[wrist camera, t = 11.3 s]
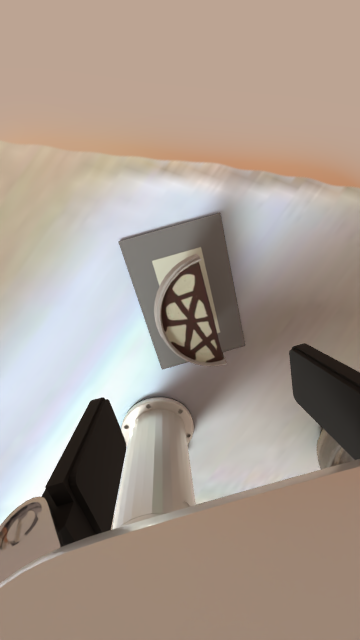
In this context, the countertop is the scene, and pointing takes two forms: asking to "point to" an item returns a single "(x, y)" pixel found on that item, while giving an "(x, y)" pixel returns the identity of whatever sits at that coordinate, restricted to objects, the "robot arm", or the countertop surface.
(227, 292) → the mat
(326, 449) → the bowl
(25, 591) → the robot arm
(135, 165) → the countertop surface
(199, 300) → the food container
